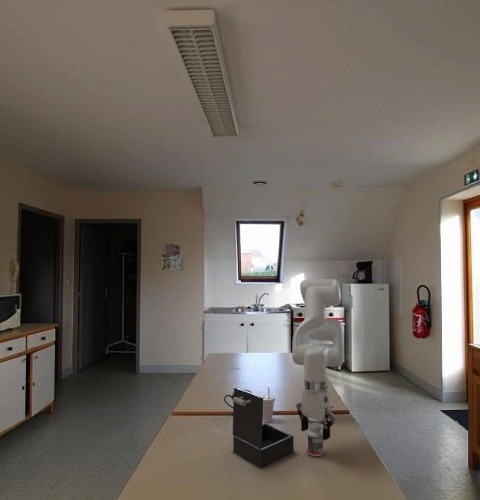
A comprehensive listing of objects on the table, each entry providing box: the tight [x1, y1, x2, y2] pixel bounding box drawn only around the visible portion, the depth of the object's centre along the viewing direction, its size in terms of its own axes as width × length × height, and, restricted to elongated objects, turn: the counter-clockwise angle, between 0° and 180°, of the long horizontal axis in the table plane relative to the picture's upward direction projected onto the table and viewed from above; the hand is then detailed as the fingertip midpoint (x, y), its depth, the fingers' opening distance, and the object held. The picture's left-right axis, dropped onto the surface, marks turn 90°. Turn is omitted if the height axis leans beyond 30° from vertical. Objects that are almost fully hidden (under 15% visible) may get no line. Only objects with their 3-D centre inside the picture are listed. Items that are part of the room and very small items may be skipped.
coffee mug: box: [223, 388, 253, 409], centre depth 169 cm, size 12×9×10 cm
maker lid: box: [232, 386, 264, 449], centre depth 129 cm, size 16×15×5 cm
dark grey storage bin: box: [232, 422, 295, 469], centre depth 135 cm, size 16×15×6 cm
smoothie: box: [260, 386, 276, 423], centre depth 163 cm, size 6×6×14 cm
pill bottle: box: [307, 422, 324, 457], centre depth 134 cm, size 5×5×10 cm
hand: (315, 434), depth 134 cm, fingers open, 9 cm apart
